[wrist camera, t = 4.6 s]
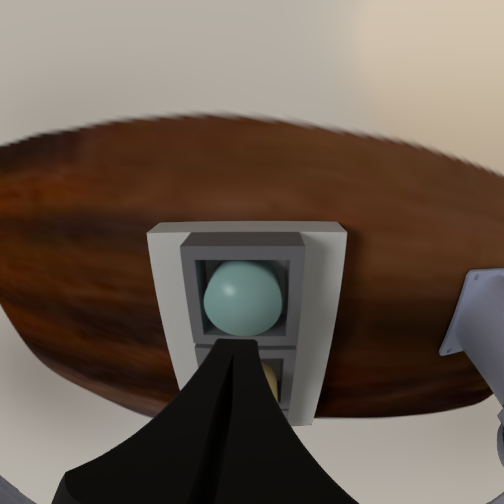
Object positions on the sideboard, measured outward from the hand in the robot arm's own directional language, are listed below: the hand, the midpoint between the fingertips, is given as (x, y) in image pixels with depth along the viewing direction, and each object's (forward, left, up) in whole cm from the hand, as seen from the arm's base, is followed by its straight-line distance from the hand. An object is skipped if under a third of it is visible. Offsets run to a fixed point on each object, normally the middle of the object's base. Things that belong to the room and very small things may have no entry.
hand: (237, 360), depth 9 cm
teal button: (0, 0, -5) cm, 5 cm away
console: (0, +5, -7) cm, 9 cm away
